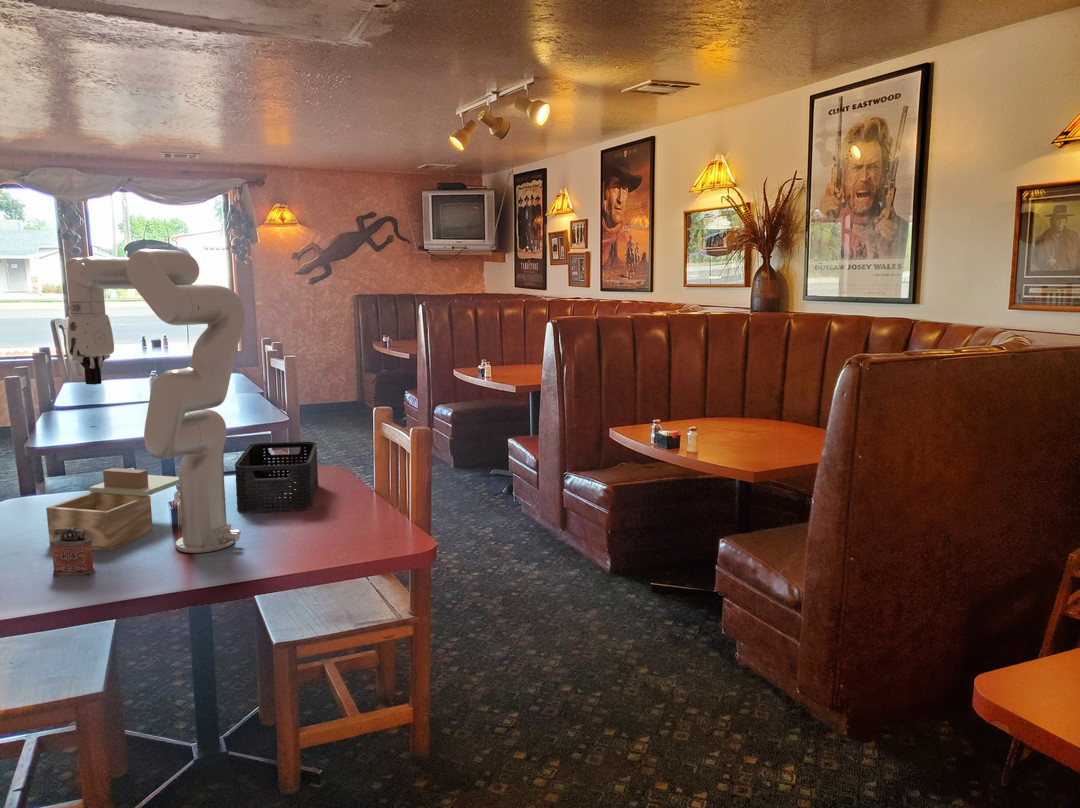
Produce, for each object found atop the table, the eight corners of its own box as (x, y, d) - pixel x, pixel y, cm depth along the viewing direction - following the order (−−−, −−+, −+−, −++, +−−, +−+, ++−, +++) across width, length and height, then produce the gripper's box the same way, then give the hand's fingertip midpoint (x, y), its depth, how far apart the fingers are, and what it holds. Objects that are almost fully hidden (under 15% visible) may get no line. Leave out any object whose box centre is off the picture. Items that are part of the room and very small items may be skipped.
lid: (184, 481, 198) (183, 462, 197) (146, 496, 184) (145, 475, 183) (130, 478, 201) (129, 458, 200) (89, 492, 188) (87, 471, 187)
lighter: (98, 571, 162) (94, 525, 160) (89, 577, 158) (85, 530, 157) (59, 571, 161) (55, 525, 160) (49, 577, 158) (45, 530, 156)
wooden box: (152, 531, 187) (150, 496, 186) (109, 551, 173) (106, 512, 172) (96, 527, 190) (93, 491, 189) (49, 545, 177) (46, 507, 175)
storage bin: (310, 511, 206) (309, 462, 204) (234, 515, 202) (231, 465, 200) (319, 484, 233) (317, 440, 231) (252, 486, 230) (250, 443, 228)
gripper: (76, 310, 179) (82, 388, 182) (123, 308, 194) (128, 380, 196) (49, 310, 181) (56, 387, 184) (97, 308, 195) (103, 379, 198)
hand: (93, 383), depth 190 cm, fingers closed
